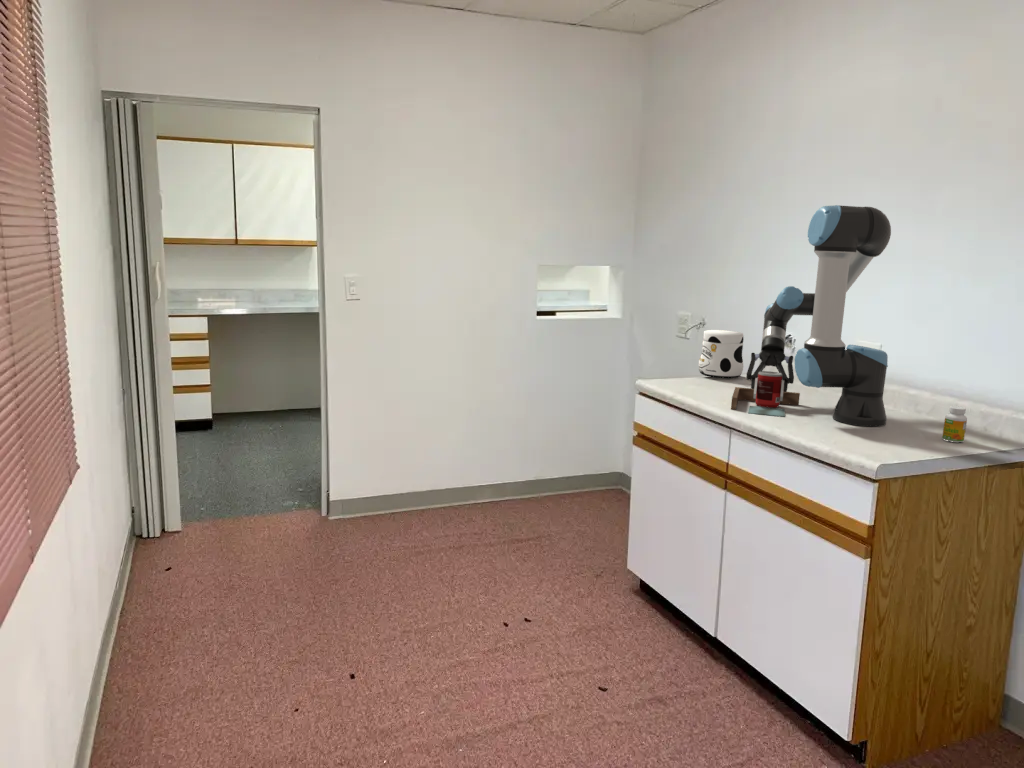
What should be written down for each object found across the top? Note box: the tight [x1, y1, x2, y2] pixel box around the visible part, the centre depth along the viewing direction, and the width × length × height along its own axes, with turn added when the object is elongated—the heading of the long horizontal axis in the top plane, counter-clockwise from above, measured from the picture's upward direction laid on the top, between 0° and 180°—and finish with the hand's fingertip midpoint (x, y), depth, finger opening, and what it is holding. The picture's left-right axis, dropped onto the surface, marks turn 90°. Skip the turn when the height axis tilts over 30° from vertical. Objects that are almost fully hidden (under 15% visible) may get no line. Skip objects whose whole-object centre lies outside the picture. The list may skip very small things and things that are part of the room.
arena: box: [730, 386, 801, 418], centre depth 251 cm, size 21×22×4 cm
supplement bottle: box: [941, 405, 968, 443], centre depth 216 cm, size 5×5×10 cm
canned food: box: [755, 370, 782, 408], centre depth 253 cm, size 8×8×11 cm
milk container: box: [698, 329, 744, 380], centre depth 304 cm, size 17×17×18 cm
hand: (768, 397), depth 250 cm, fingers closed on canned food, 8 cm apart
